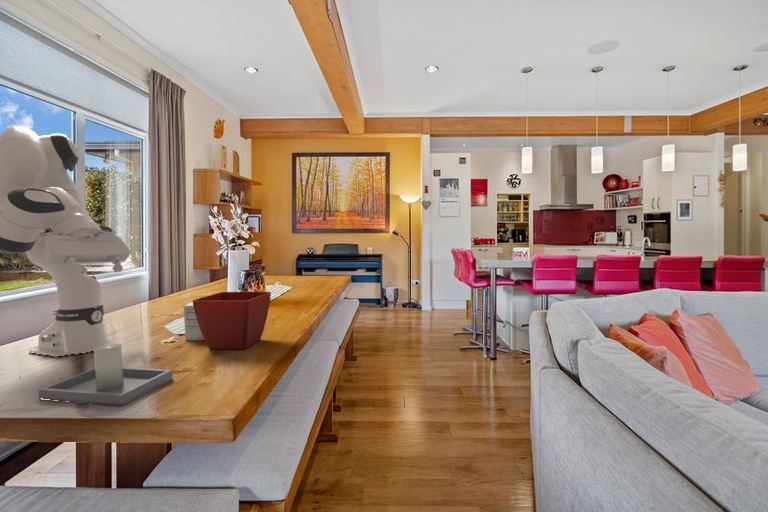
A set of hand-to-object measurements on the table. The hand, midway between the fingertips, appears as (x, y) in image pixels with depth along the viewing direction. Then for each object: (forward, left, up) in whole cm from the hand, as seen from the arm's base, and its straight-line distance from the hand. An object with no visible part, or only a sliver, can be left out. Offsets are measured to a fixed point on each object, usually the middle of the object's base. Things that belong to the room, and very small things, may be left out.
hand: (101, 271), depth 104 cm
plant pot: (+19, +32, -28) cm, 47 cm away
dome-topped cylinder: (+9, -8, -28) cm, 30 cm away
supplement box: (+1, +38, -28) cm, 47 cm away
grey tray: (+9, -8, -28) cm, 31 cm away
